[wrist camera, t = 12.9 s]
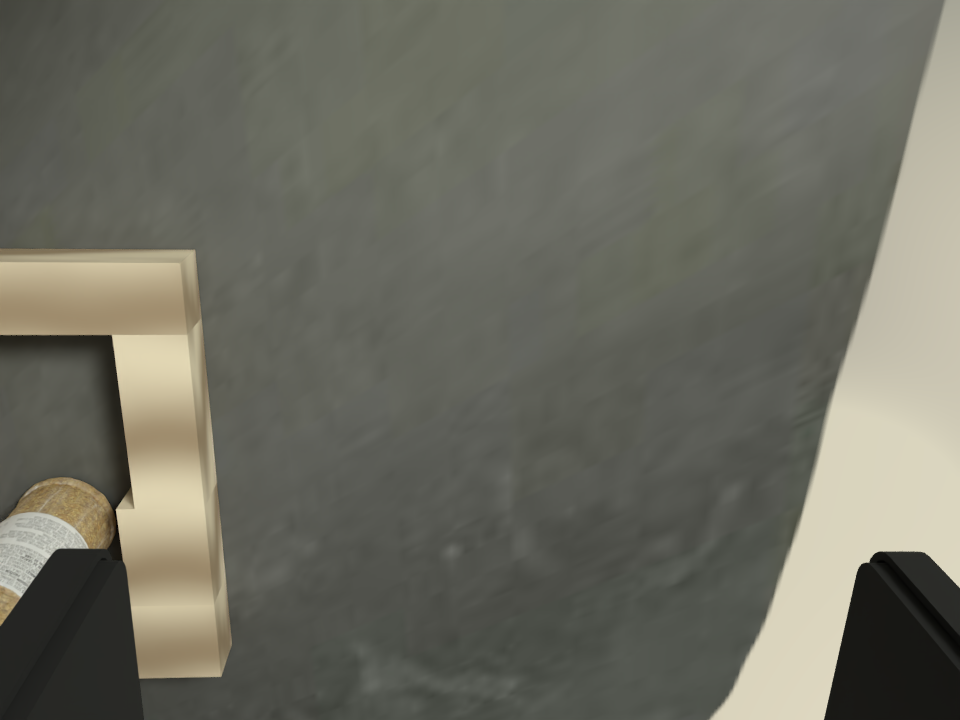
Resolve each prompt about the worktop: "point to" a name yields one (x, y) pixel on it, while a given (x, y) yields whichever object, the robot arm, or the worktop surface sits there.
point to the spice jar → (49, 531)
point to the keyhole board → (146, 433)
